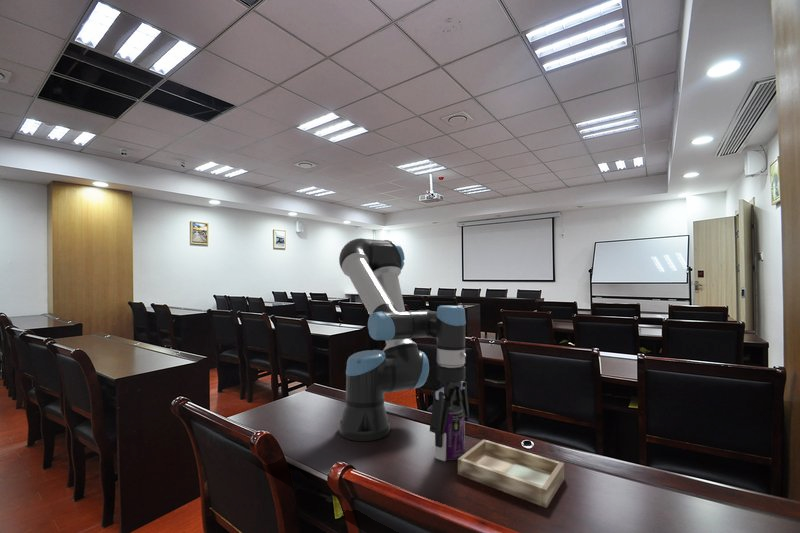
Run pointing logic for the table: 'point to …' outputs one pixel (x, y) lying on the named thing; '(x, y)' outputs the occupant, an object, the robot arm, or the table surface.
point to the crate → (513, 471)
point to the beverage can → (454, 433)
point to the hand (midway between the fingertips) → (450, 452)
